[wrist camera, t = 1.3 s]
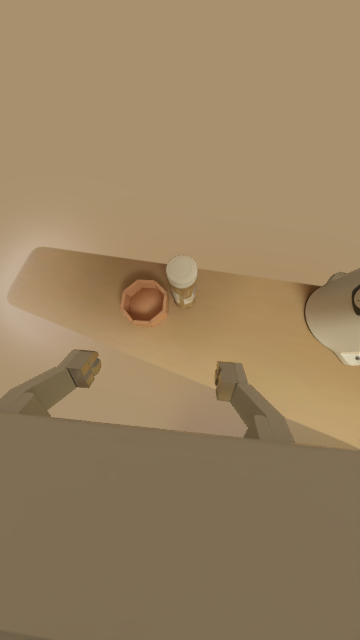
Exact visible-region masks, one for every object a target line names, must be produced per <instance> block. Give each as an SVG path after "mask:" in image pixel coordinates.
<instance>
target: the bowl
mask: <svg viewBox="0 0 360 640" xmlns="http://www.w3.org/2000/svg"><path fill="white" fill-rule="evenodd" d="M168 309H169V297H168V294H167V293H166V291H165V290H164V289H163V288H162V287H161V286H160V285H159V284H158V283H157V282H156V280H136V281H135V282H134V283H132V284H131V285H130V286H129V287H127V288H126V289H125V290H124V291H123V293H122V300H121V306H120V310H121V311H122V312H123V313H124V315H125V316H126V317H127V318H128V320H129V321H130V322H131V323H132V324H134V325H136V326H142V327H155V326H156V325H158V324H159V323H160V322H161V321H162V320H163V319H165V318H166V317H167V316H168Z"/></svg>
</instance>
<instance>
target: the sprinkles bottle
mask: <svg viewBox="0 0 360 640" xmlns="http://www.w3.org/2000/svg"><path fill="white" fill-rule="evenodd" d="M166 274H167V278H168V281H169V282H170V285H171V289H172V293H173V296H174V299H175V303H176V305H177V306H178V307H179V308H181V309H188V308H190V307H192V306H193V304H194V303H195V287H196V284H195V282H196V278H197V264H196V262H195V261H194V260H193V259H192V258H191V257H189V256H186V255H178V256H175V257H173V258H172V259H171V260H170V261H169V262H168V264H167V266H166Z"/></svg>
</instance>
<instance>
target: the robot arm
mask: <svg viewBox="0 0 360 640" xmlns="http://www.w3.org/2000/svg"><path fill="white" fill-rule="evenodd" d="M305 315H306V321H307V324H308V326H309V329H310V330H311V332H312V333H313V335H314V336H315V337H316V338H317V339H318V340H319V341H320V342H321V343H322V344H323V345H325V346H326V347H328V348H329V349H331V350H332V351H333V352H334V353H335V354H336V355H337V357H338V358H339V359H340V360H341V362H342V363H344V364H345V365H348V366H351V365H360V268H359V269H357V270H354V271H352V272H350V273H348V274H347V273H342V272H339V273H336V274H334V275H332V276H331V278H330V279H329V281H328V282H327V283H326V284H325V285H324V286H322V287H320V288H318V289H317V290H316V291H314V292H313V293H312V295H311V296H310V297H309V299H308V301H307V304H306V309H305ZM98 356H99V355H98V352H95V351H87V350H77V349H74V350H72V351H71V352H70V353H69V354H68V356H67V357H66V358H65V359H64V360H63V361H62V362H61V363H60V364H59V365H58V367H54V368H52V369H50V370H48V371H46V372H44V373H42V374H40V375H38V376H36V377H34V378H33V379H30V380H29V381H27V382H25V383H23V384H21V385H19V386H17V387H15V388H13V389H11V390H9V391H8V392H7V393H6V394H5V395H4V396H3V397H2V398H1V399H0V640H360V450H355V449H345V448H336V447H327V446H317V445H308V444H299V443H295V441H294V439H293V437H292V434H291V432H290V430H289V427H288V425H287V423H286V421H285V418H284V417H283V416H282V415H281V414H280V413H279V412H278V411H277V410H276V409H275V408H274V407H273V406H272V405H271V404H270V403H269V402H268V401H267V400H266V399H265V398H264V397H263V396H262V395H261V394H260V393H259V392H258V391H257V390H256V389H255V388H254V387H253V386H252V385H249V384H248V381H247V378H246V375H245V372H244V369H243V365H242V364H241V363H234V362H220V361H218V362H217V369H216V370H215V385H216V386H217V387H216V397H217V400H220V401H228V402H231V404H232V406H233V407H234V408H235V410H236V411H237V413H238V414H239V415H240V417H241V418H242V420H243V421H244V423H245V424H246V426H247V427H248V430H247V431H246V433H245V435H244V437H243V438H242V437H232V436H222V435H214V434H213V435H212V434H204V433H193V432H185V431H176V430H166V429H157V428H148V427H139V426H128V425H120V424H110V423H100V422H91V421H82V420H71V419H62V418H53V417H51V415H50V414H49V413H48V412H47V410H48V409H50V408H51V407H52V406H54V405H55V404H56V403H58V402H59V401H60V400H61V399H63V398H64V397H65V396H66V395H68V394H69V393H70V392H72V391H73V390H74V389H75V388H76V387H82V388H89V387H90V386H91V384H92V382H93V381H94V376H95V375H97V374H98V373H99V371H100V368H101V361H100V359H98V358H97V357H98ZM355 357H356V359H355Z"/></svg>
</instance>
